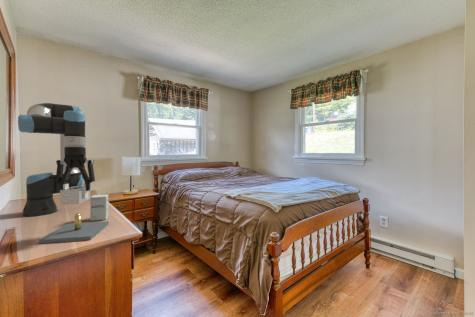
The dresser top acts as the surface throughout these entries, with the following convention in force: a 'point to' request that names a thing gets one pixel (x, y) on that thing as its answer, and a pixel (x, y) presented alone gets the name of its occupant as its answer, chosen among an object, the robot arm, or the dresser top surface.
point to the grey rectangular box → (73, 195)
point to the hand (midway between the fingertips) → (76, 198)
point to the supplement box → (98, 207)
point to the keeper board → (74, 232)
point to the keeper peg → (77, 221)
